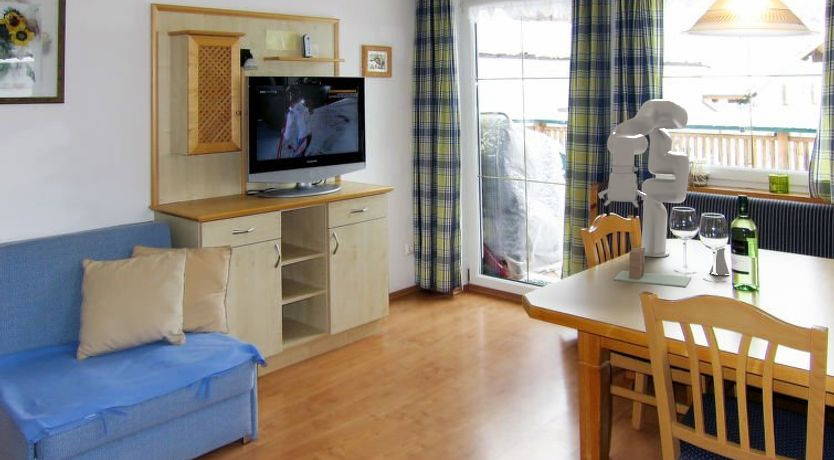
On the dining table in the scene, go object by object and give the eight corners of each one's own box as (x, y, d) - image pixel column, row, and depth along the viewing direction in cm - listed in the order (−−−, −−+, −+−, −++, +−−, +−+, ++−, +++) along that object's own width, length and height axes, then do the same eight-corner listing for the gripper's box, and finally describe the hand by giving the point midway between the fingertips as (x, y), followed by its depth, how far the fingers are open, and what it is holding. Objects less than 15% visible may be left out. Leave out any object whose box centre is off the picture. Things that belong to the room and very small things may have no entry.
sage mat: (621, 271, 289) (621, 270, 289) (691, 278, 277) (691, 277, 277) (614, 280, 277) (614, 278, 277) (685, 287, 266) (686, 285, 266)
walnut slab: (632, 273, 284) (633, 247, 282) (643, 274, 283) (644, 248, 281) (628, 278, 277) (629, 251, 275) (639, 279, 276) (640, 252, 274)
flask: (726, 271, 286) (727, 245, 284) (732, 276, 279) (734, 250, 277) (706, 271, 287) (707, 245, 285) (712, 276, 280) (713, 250, 278)
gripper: (649, 169, 275) (647, 216, 278) (601, 168, 282) (599, 213, 285) (646, 172, 268) (644, 220, 271) (596, 170, 275) (595, 217, 279)
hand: (621, 216), depth 278 cm, fingers open, 9 cm apart
